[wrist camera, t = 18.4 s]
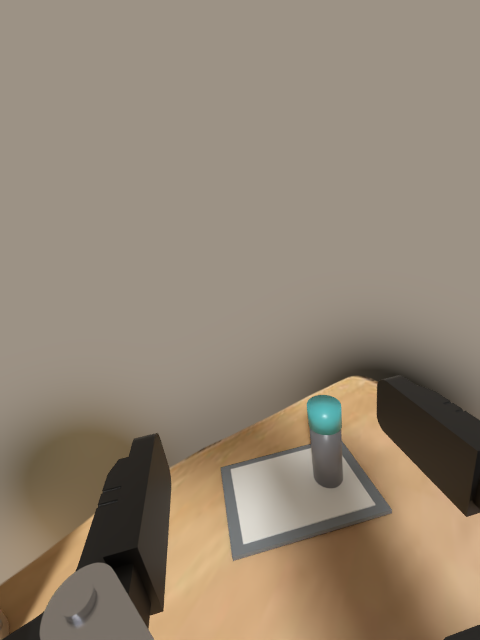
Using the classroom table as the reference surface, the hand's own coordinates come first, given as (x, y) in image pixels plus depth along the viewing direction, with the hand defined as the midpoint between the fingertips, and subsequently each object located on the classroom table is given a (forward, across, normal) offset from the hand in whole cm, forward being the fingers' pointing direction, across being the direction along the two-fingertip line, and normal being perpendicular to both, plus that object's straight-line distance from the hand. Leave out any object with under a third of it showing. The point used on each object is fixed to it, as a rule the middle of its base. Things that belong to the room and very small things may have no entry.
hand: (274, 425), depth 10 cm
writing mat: (+20, -6, +30) cm, 36 cm away
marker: (+20, -11, +29) cm, 37 cm away
